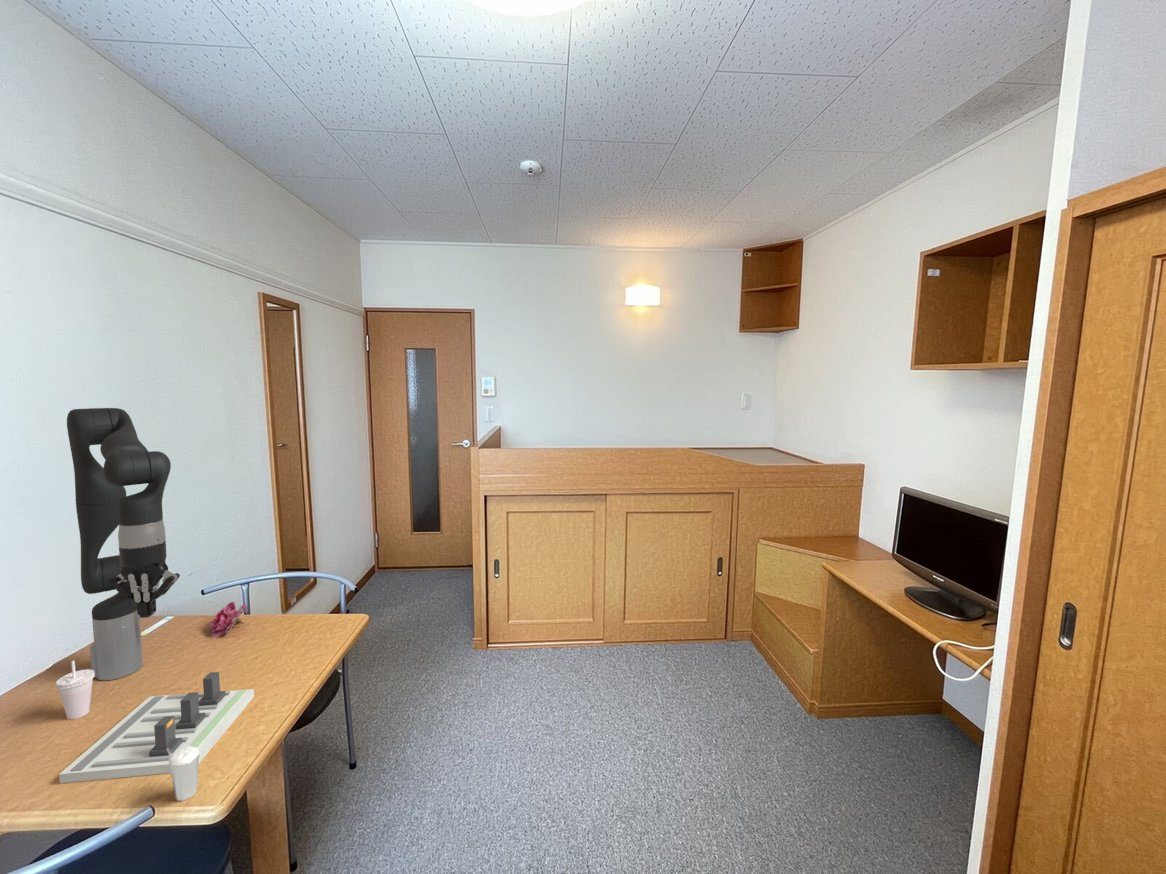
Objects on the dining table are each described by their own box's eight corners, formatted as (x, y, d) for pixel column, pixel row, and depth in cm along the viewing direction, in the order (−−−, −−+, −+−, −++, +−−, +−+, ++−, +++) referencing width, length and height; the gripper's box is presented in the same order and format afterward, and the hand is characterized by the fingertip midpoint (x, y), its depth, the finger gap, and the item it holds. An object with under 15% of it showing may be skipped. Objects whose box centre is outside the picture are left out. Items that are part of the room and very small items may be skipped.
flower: (211, 649, 147) (193, 624, 146) (233, 635, 157) (216, 611, 156) (242, 629, 147) (224, 603, 147) (262, 616, 157) (245, 592, 157)
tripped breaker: (149, 757, 97) (147, 727, 97) (161, 744, 101) (160, 715, 100) (170, 755, 98) (168, 725, 97) (182, 742, 102) (180, 714, 101)
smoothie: (52, 726, 108) (47, 670, 107) (67, 709, 114) (62, 656, 112) (90, 718, 111) (86, 663, 110) (102, 702, 117) (98, 650, 115)
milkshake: (178, 785, 94) (176, 739, 93) (206, 784, 94) (204, 738, 93) (160, 805, 89) (157, 757, 88) (189, 803, 89) (187, 756, 88)
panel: (59, 783, 93) (56, 742, 92) (150, 703, 117) (147, 670, 116) (193, 770, 97) (190, 731, 96) (254, 696, 121) (252, 664, 120)
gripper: (93, 547, 97) (98, 626, 99) (164, 546, 99) (168, 622, 101) (122, 536, 104) (127, 609, 106) (187, 535, 107) (191, 606, 108)
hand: (147, 615), depth 103 cm, fingers closed
